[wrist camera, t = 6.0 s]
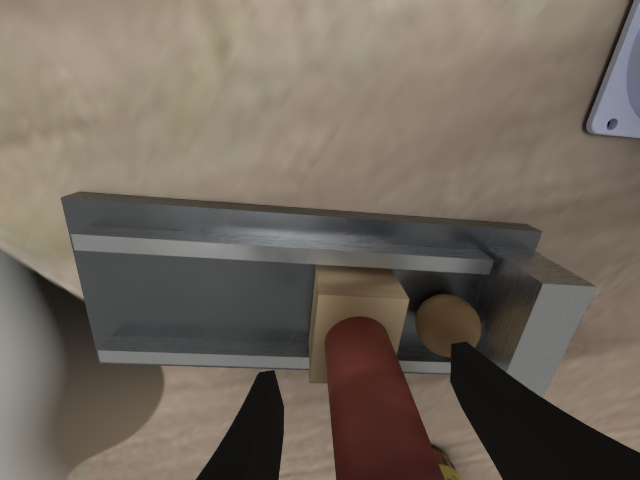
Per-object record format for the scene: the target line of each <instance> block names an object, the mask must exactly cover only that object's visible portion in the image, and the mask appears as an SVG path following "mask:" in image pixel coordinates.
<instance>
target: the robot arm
mask: <svg viewBox="0 0 640 480" xmlns="http://www.w3.org/2000/svg"><path fill="white" fill-rule="evenodd" d="M609 120H610V125H609V126H608V128H607V123H608V122H609ZM586 129H587V131H588V132H589V133H591V134H599V135H609V136H619V137H630V138H640V0H634V2H633V4H632V7H631V9H630V12H629V15H628V17H627V20H626V22H625V25H624V28H623V30H622V33H621V35H620V38H619V40H618V43H617V46H616V48H615V51H614V53H613V56H612V59H611V61H610V64H609V66H608V69H607V72H606V74H605V77H604V79H603V82H602V85H601V87H600V90H599V92H598V95H597V97H596V100H595V103H594V105H593V108H592V110H591V113H590V116H589V118H588V121H587V124H586ZM450 382H451V384H452V387H453V389H454V391H455V394H456V396H457V398H458V400H459V403H460V405H461V407H462V409H463V411H464V413H465V414H466V416H467V418H468V420H469V421H470V423H471V425H472V427H473V428H474V430H475V432H476V433H477V435H478V437H479V439H480V440H481V442H482V444H483V445H484V447H485V449H486V451H487V452H488V454H489V456H490V457H491V459H492V461H493V463H494V464H495V466H496V468H497V470H498V471H499V473H500V475H501V477H502V479H503V480H640V453H639V452H637V451H635V450H633V449H631V448H629V447H627V446H625V445H623V444H621V443H619V442H617V441H615V440H614V439H612V438H610V437H608V436H606V435H604V434H602V433H600V432H598V431H597V430H595V429H593V428H591V427H589V426H588V425H586V424H584V423H582V422H581V421H579V420H577V419H576V418H574V417H572V416H571V415H569V414H567V413H566V412H564V411H562V410H561V409H559V408H557V407H556V406H554V405H553V404H551V403H549V402H548V401H546V400H545V399H543V398H542V397H540V396H539V395H537V394H536V393H534V392H533V391H531V390H530V389H529V388H527V387H526V386H524V385H523V384H521V383H520V382H519V381H517V380H516V379H515V378H513V377H512V376H511V375H509V374H508V373H506V372H505V371H504V370H502V369H501V368H500V367H499V366H497V365H496V364H495V363H493V362H492V361H491V360H489V359H488V358H487V357H486V356H484V355H483V354H482V353H481V352H479V351H478V350H477V349H475V348H474V347H473V346H472V345H470V344H469V343H468V342H460V343H453V344H451V374H450ZM283 435H284V405H283V401H282V397H281V394H280V390H279V386H278V383H277V379H276V375H275V371H274V370H273V371H266V372H259V374H258V375H257V377H256V379H255V381H254V383H253V385H252V387H251V389H250V391H249V393H248V395H247V397H246V399H245V401H244V403H243V405H242V407H241V409H240V411H239V412H238V414H237V416H236V418H235V420H234V421H233V423H232V425H231V427H230V428H229V430H228V432H227V433H226V435H225V437H224V438H223V440H222V442H221V443H220V445H219V446H218V448H217V450H216V451H215V453H214V454H213V456H212V457H211V459H210V460H209V462H208V463H207V465H206V466H205V467H204V469H203V470H202V472H201V473H200V474H199V476H198V477H197V479H196V480H278V479H279V470H280V462H281V453H282V444H283Z"/></svg>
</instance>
